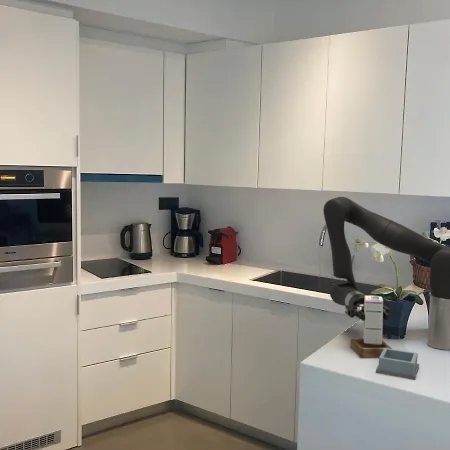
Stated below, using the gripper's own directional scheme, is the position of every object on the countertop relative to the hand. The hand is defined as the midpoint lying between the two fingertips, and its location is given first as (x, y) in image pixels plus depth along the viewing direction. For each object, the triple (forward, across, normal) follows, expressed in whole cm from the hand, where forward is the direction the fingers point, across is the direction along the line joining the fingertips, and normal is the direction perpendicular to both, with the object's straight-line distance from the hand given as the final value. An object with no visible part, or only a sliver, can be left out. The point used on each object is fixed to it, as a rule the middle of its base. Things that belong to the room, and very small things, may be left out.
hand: (375, 317), depth 175 cm
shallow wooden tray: (-2, 0, +12) cm, 13 cm away
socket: (+13, +3, +12) cm, 18 cm away
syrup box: (-2, 0, +9) cm, 9 cm away
